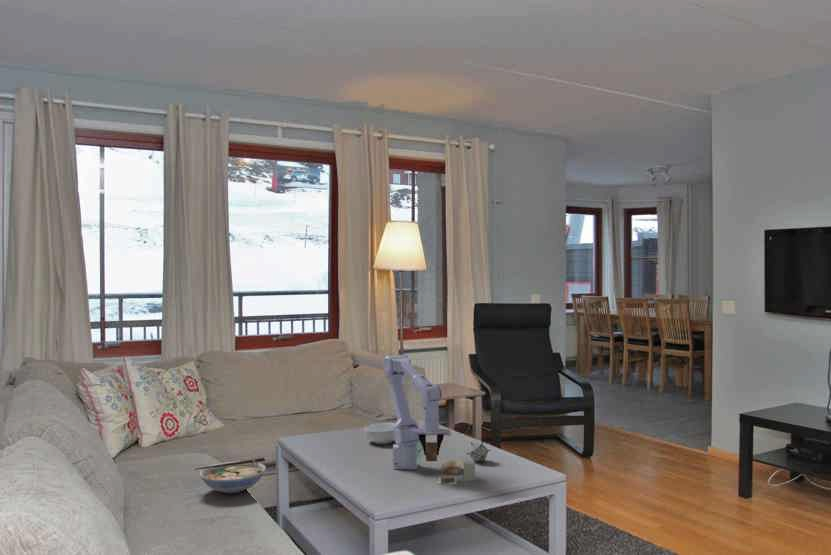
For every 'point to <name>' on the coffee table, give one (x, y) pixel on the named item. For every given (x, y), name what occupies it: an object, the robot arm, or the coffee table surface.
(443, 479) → the swatch
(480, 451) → the game die
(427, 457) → the walnut block
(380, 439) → the cereal bowl
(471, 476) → the sage green block
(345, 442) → the coffee table surface
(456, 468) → the oak base block
